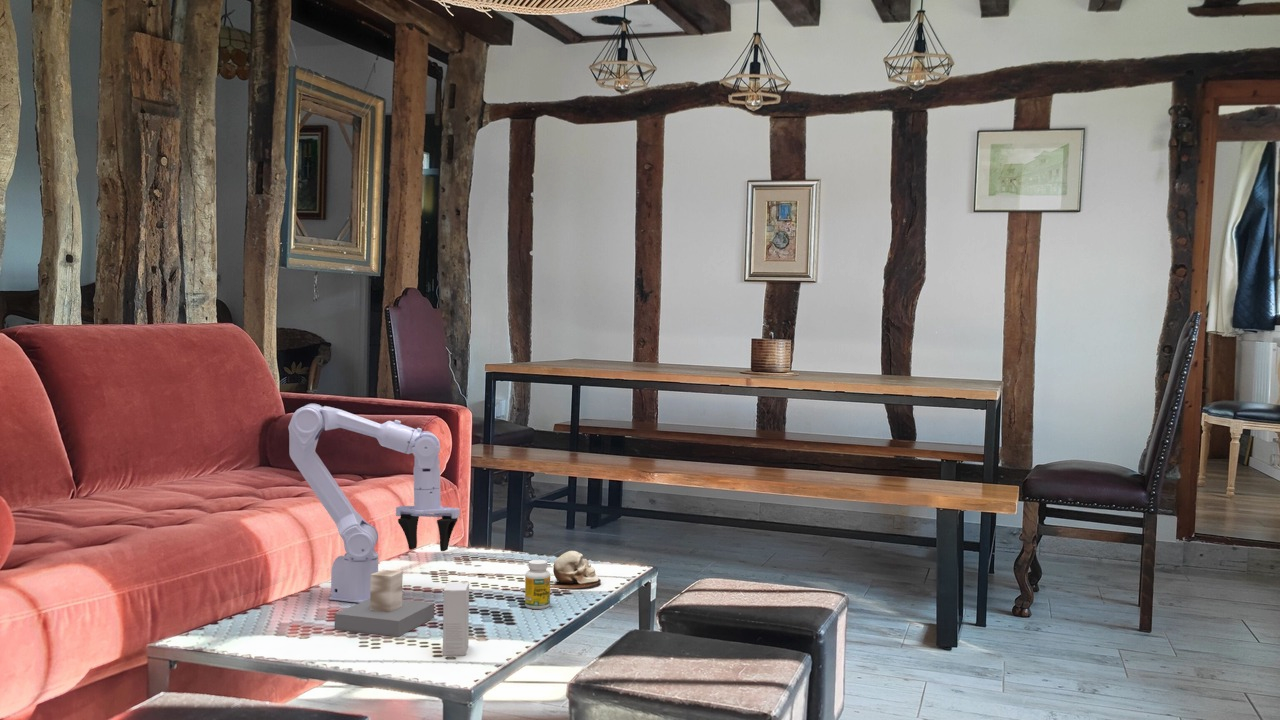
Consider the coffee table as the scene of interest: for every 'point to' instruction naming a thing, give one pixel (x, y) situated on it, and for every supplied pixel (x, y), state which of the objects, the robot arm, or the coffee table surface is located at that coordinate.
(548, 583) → the supplement bottle
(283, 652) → the coffee table surface
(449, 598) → the skincare box
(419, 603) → the riser block
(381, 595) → the cream block
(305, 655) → the coffee table surface
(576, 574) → the skull
